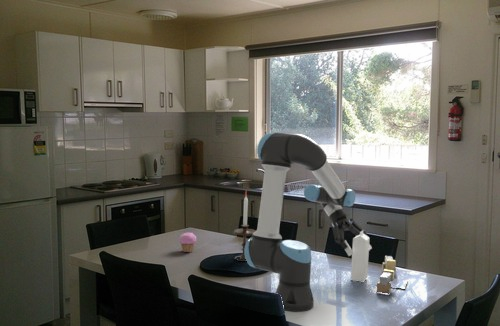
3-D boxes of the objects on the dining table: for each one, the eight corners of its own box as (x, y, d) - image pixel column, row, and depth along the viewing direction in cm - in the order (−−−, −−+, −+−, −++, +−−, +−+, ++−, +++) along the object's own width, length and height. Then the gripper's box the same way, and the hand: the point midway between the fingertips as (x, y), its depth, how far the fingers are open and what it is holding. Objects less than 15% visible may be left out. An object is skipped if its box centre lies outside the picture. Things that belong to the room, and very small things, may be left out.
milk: (350, 280, 215) (352, 231, 213) (354, 276, 221) (356, 228, 219) (364, 283, 213) (366, 233, 211) (367, 279, 218) (370, 230, 216)
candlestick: (252, 263, 235) (255, 191, 232) (230, 261, 238) (232, 190, 234) (256, 257, 246) (259, 188, 243) (235, 255, 248) (237, 187, 245)
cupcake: (197, 250, 256) (198, 231, 255) (194, 254, 247) (194, 235, 247) (181, 249, 257) (181, 230, 256) (176, 253, 248) (177, 234, 247)
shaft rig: (403, 298, 195) (404, 279, 195) (372, 293, 200) (373, 274, 199) (409, 274, 227) (410, 257, 226) (382, 270, 231) (383, 254, 231)
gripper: (347, 214, 237) (371, 252, 227) (313, 220, 220) (337, 261, 211) (357, 205, 232) (382, 243, 223) (322, 210, 216) (348, 252, 206)
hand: (360, 252), depth 217 cm, fingers open, 13 cm apart
